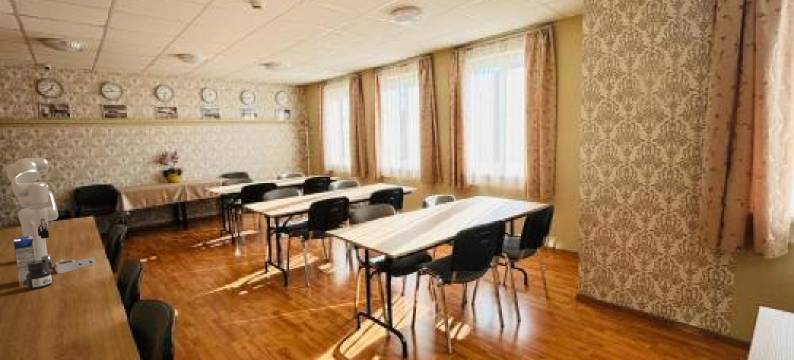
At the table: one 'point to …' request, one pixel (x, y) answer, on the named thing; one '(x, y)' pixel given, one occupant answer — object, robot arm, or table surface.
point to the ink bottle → (38, 275)
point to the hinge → (73, 264)
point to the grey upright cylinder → (48, 261)
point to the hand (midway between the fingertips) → (43, 236)
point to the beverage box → (24, 256)
